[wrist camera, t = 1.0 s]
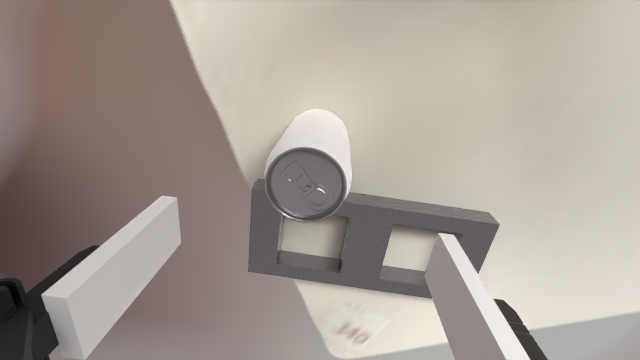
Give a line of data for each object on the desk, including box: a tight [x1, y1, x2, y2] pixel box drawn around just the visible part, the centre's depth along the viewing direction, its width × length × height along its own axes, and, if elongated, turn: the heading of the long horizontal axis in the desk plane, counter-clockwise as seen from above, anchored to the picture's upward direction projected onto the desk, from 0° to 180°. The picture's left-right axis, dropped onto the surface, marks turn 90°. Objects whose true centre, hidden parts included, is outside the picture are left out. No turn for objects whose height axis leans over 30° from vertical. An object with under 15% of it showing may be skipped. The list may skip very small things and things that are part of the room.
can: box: [264, 109, 352, 222], centre depth 26 cm, size 6×6×12 cm
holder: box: [248, 179, 500, 298], centre depth 35 cm, size 11×26×2 cm, turn 82°
